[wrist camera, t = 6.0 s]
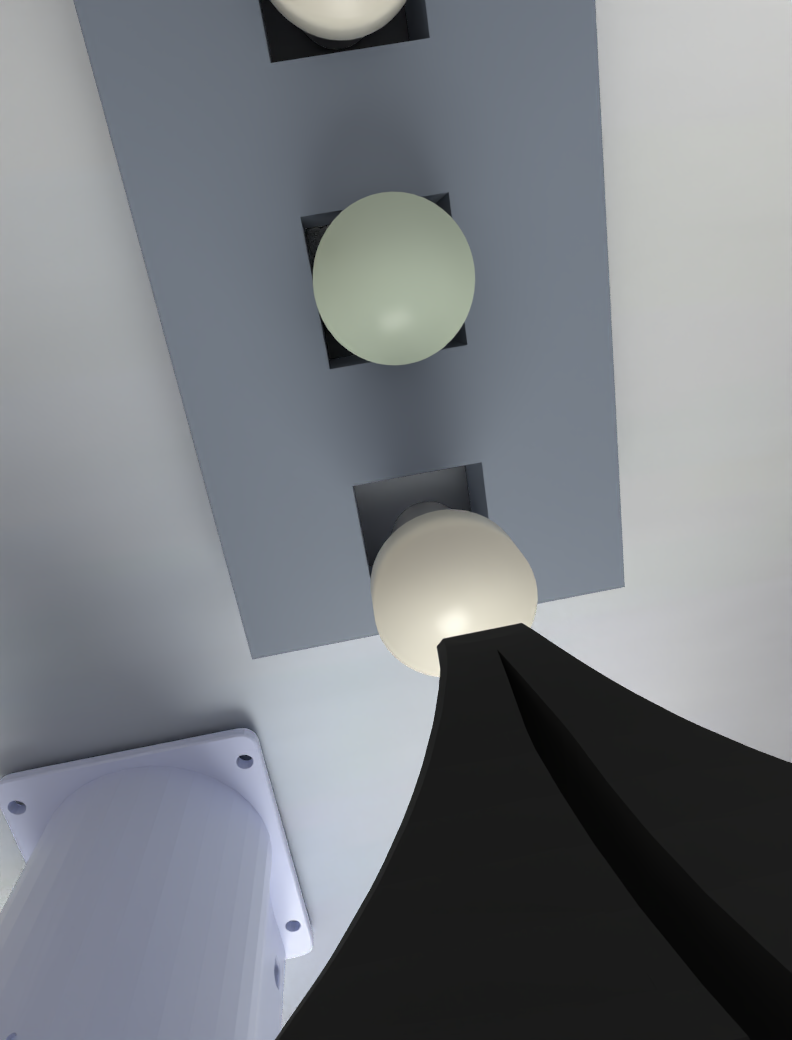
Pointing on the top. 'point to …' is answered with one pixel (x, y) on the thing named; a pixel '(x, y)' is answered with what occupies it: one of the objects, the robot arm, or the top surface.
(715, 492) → the top surface
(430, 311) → the knob middle
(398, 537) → the knob
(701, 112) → the top surface
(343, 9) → the knob
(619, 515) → the console
